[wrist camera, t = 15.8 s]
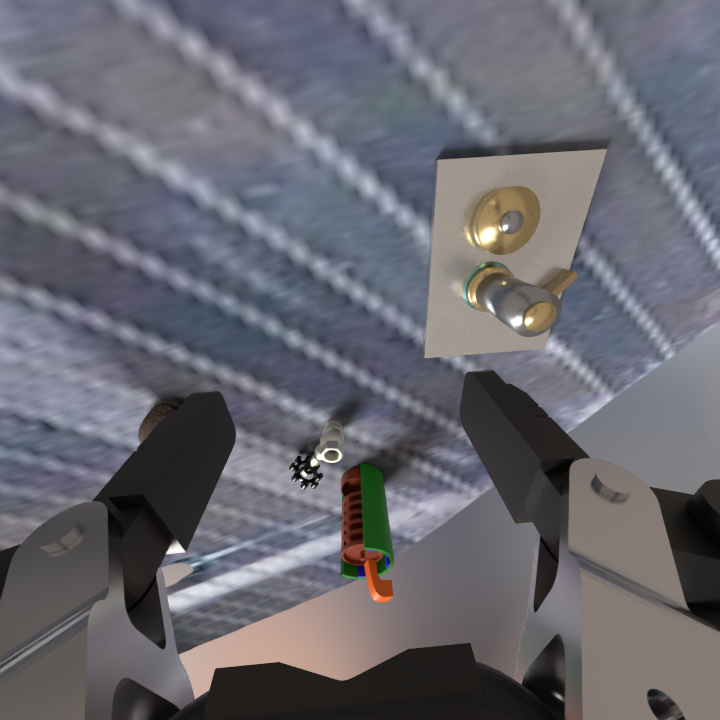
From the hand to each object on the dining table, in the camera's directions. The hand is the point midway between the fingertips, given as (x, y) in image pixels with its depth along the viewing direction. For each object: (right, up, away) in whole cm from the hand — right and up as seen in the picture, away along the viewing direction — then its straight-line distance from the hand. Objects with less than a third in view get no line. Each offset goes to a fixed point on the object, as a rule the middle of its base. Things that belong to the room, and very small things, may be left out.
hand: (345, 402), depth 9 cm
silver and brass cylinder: (+18, +11, +28) cm, 35 cm away
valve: (-7, -14, +42) cm, 45 cm away
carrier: (+19, +14, +28) cm, 37 cm away
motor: (+1, -24, +49) cm, 54 cm away
